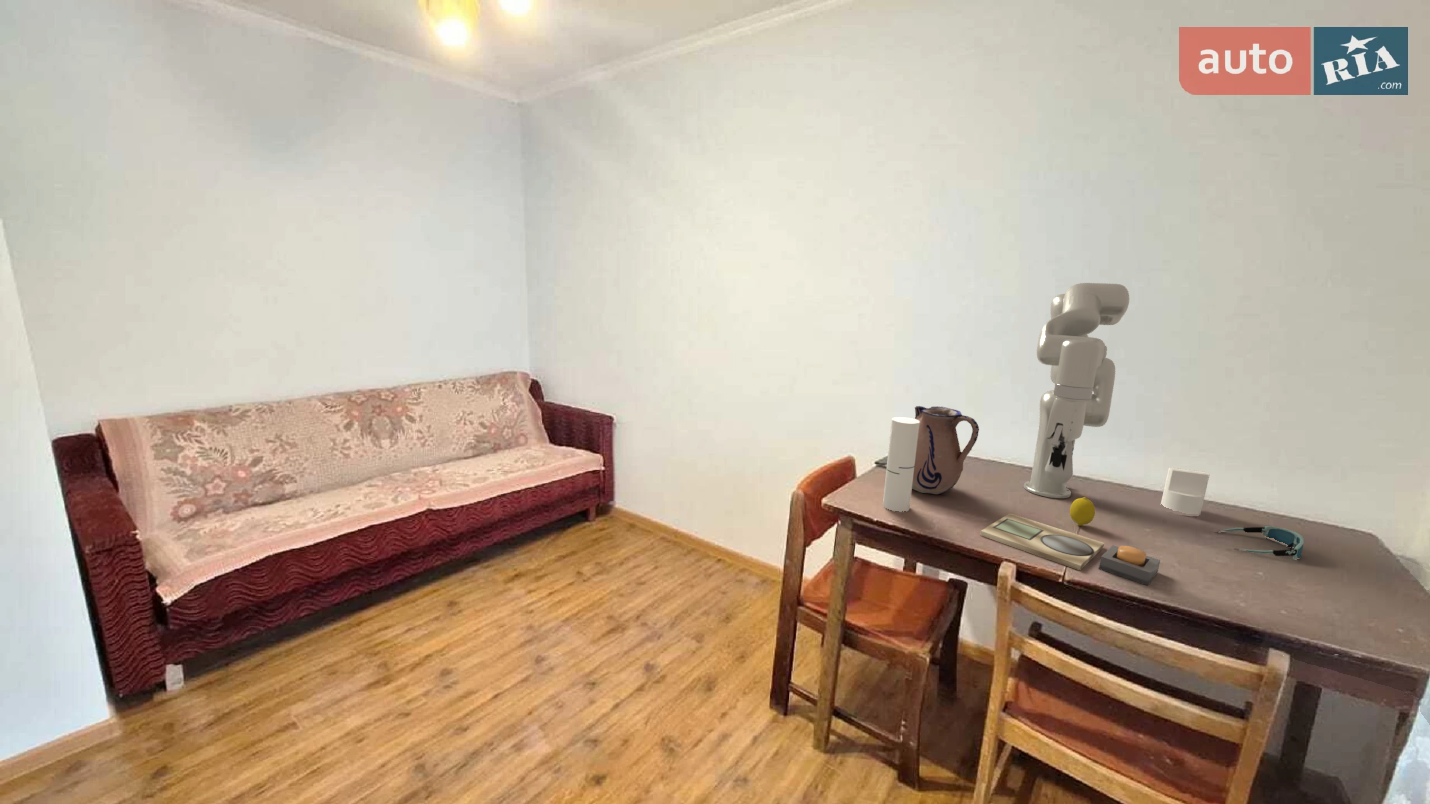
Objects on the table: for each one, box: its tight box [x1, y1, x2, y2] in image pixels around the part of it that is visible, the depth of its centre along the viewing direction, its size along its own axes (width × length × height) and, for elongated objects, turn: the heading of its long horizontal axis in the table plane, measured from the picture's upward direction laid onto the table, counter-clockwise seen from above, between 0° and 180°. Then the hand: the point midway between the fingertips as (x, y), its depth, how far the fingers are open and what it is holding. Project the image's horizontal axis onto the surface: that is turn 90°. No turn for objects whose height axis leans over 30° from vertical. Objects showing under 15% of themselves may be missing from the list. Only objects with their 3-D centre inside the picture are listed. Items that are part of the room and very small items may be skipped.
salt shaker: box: [1045, 438, 1074, 483], centre depth 134 cm, size 6×6×13 cm
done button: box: [1117, 545, 1147, 567], centre depth 125 cm, size 5×5×2 cm
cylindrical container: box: [882, 416, 920, 513], centre depth 154 cm, size 7×7×25 cm
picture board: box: [979, 512, 1105, 571], centre depth 139 cm, size 18×22×1 cm
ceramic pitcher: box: [912, 405, 980, 495], centre depth 168 cm, size 18×21×25 cm
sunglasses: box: [1220, 525, 1305, 560], centre depth 141 cm, size 14×15×5 cm
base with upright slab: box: [1160, 467, 1210, 514], centre depth 161 cm, size 9×9×12 cm
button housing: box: [1098, 544, 1161, 586], centre depth 125 cm, size 9×9×3 cm
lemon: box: [1069, 497, 1096, 527], centre depth 148 cm, size 6×6×8 cm
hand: (1059, 467), depth 134 cm, fingers closed on salt shaker, 3 cm apart
